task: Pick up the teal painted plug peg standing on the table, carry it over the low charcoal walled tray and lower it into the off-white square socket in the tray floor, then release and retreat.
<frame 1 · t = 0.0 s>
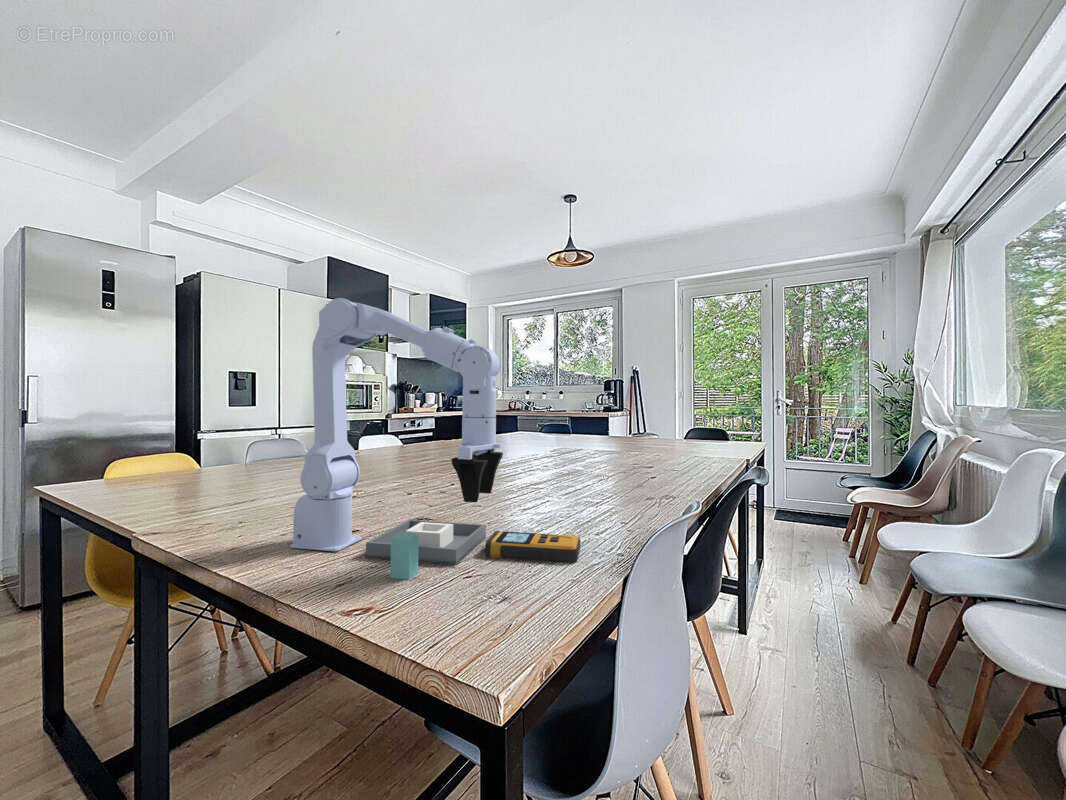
hand: (478, 497, 83), 10 cm above the table, fingers open, 7 cm apart
plug peg: (404, 575, 74), on the table
electronic device: (534, 556, 85), on the table
socket box: (429, 546, 88), on the table
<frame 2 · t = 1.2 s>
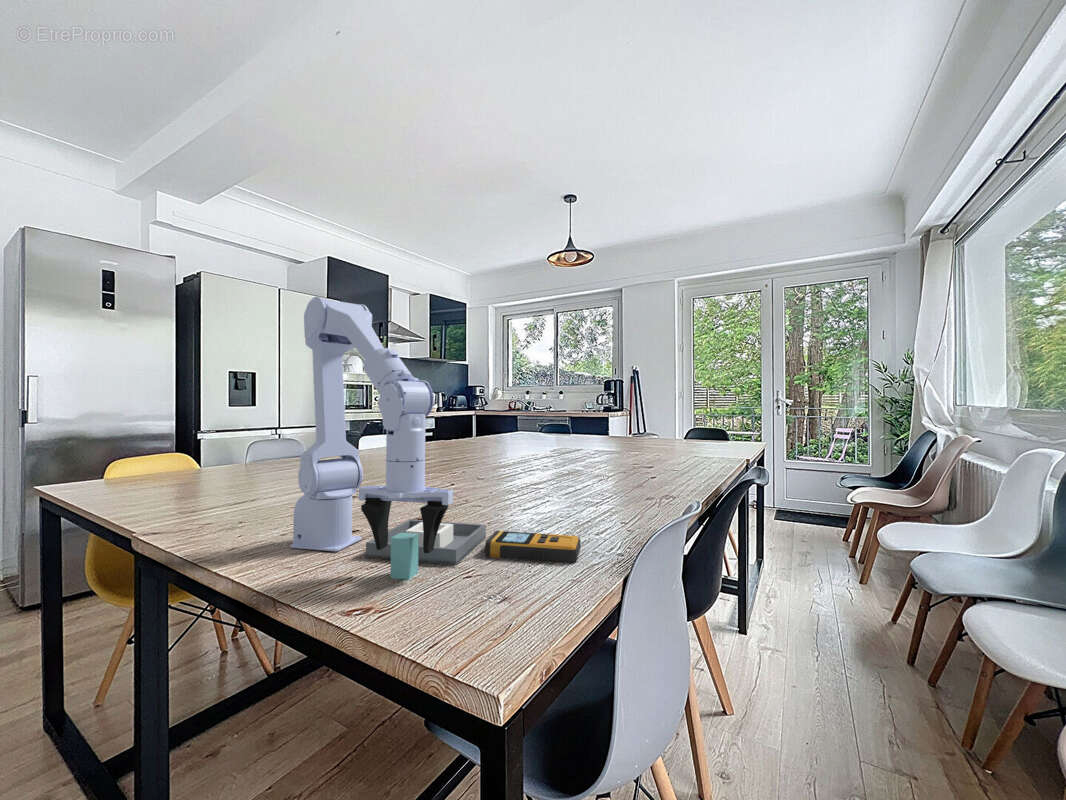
hand: (405, 549, 74), 4 cm above the table, fingers open, 7 cm apart
nothing on the table moved.
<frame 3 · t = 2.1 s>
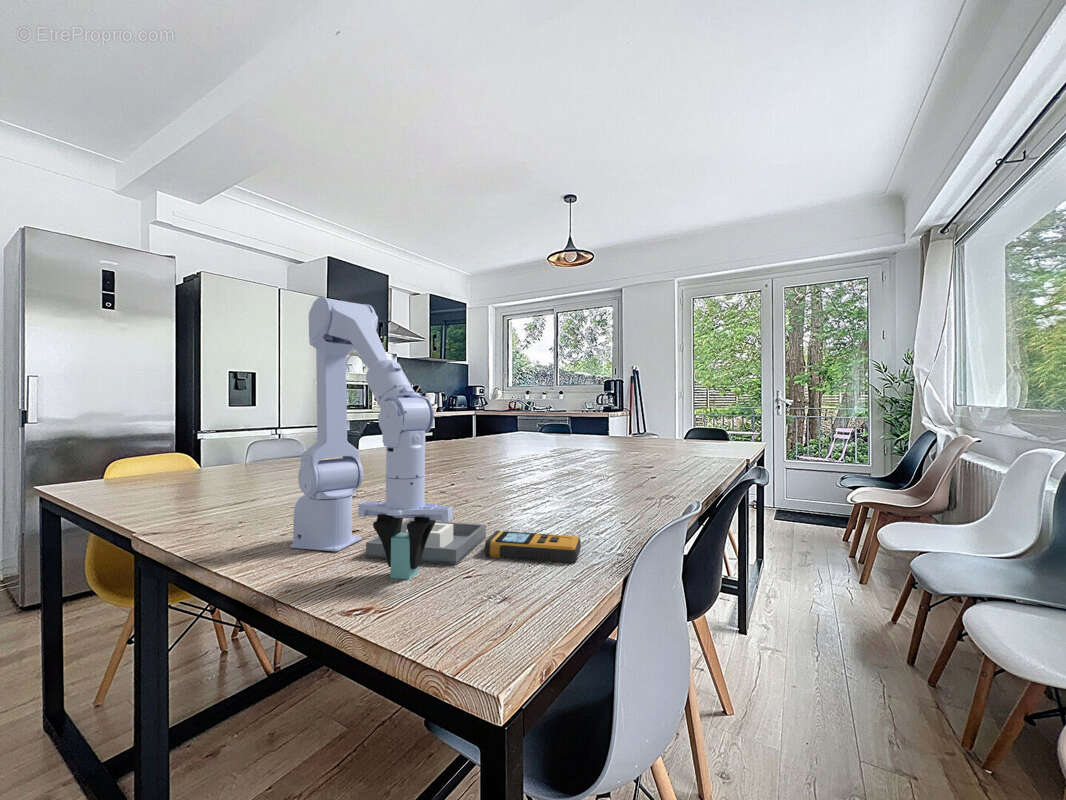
hand: (404, 565, 74), 1 cm above the table, fingers closed on plug peg, 3 cm apart
plug peg: (404, 575, 74), on the table, touching gripper
everything else where it was.
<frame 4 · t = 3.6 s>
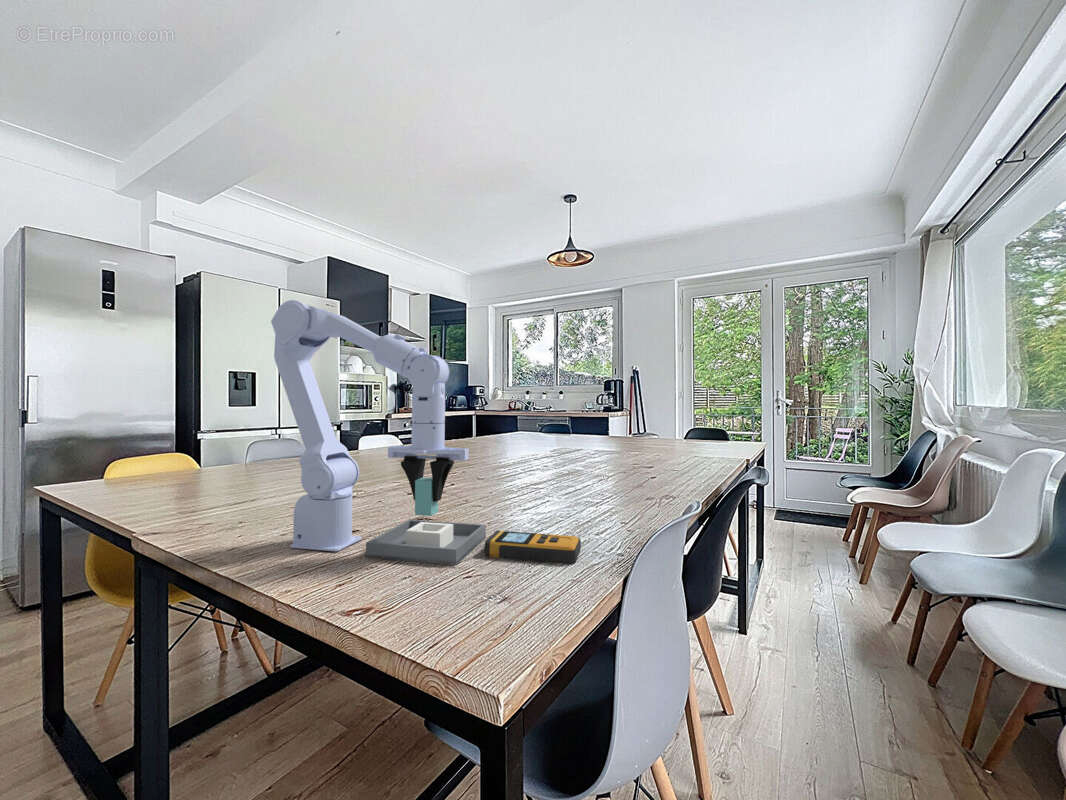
hand: (427, 499, 86), 9 cm above the table, fingers closed on plug peg, 3 cm apart
plug peg: (426, 513, 86), point 7 cm above the table, touching gripper
everything else where it was.
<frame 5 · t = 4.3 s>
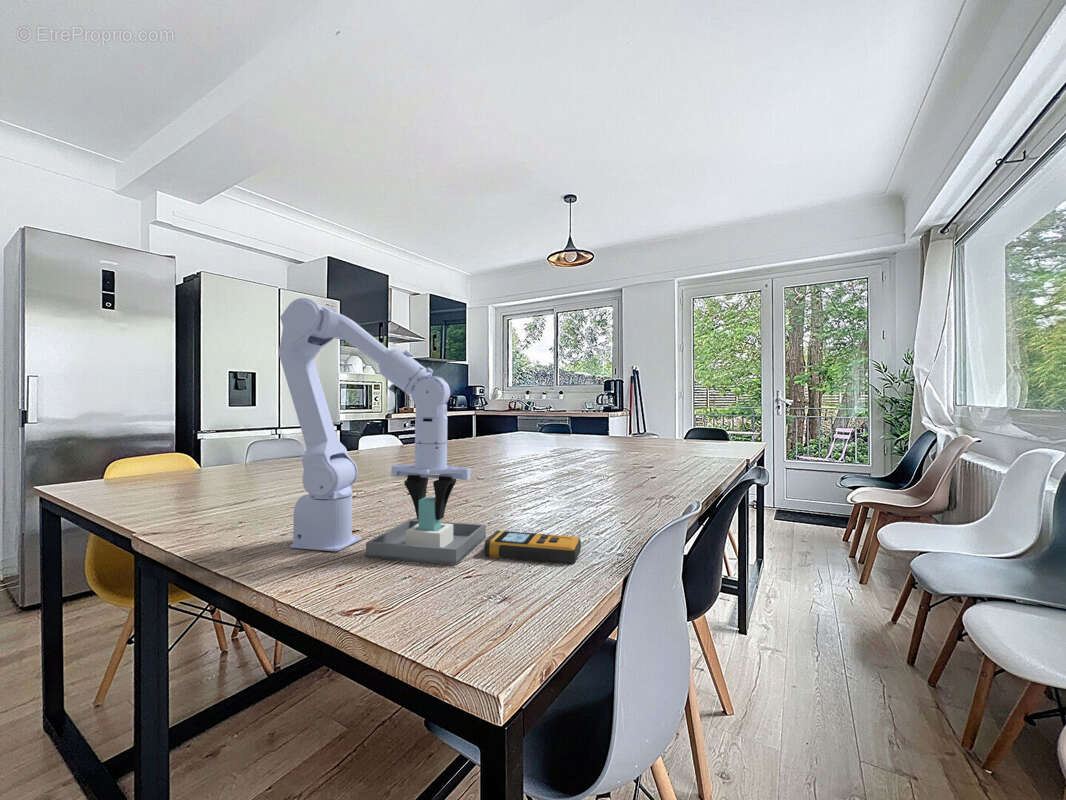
hand: (430, 518, 88), 5 cm above the table, fingers closed on plug peg, 3 cm apart
plug peg: (429, 532, 88), point 3 cm above the table, touching gripper
everything else where it was.
when the fingers open (4 cm above the table, at t = 4.8 s): plug peg stays where it is, resting on socket box.
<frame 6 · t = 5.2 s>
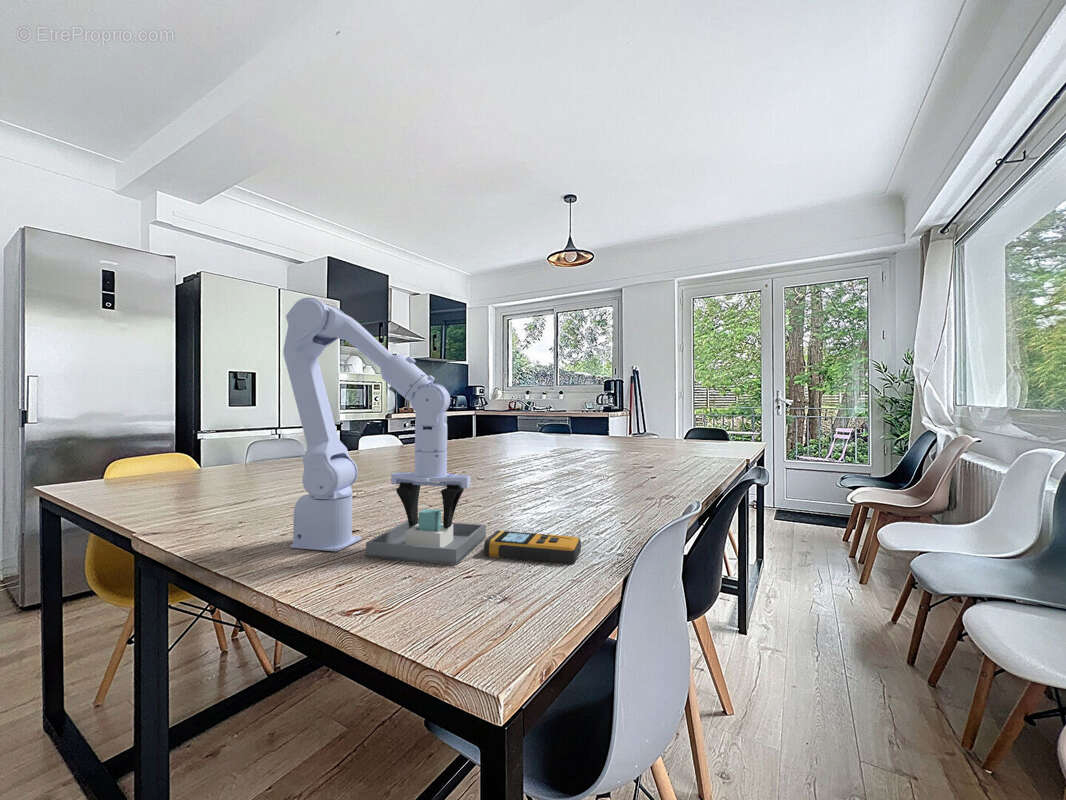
hand: (430, 525, 88), 4 cm above the table, fingers open, 6 cm apart
plug peg: (429, 544, 88), resting on socket box
everything else where it was.
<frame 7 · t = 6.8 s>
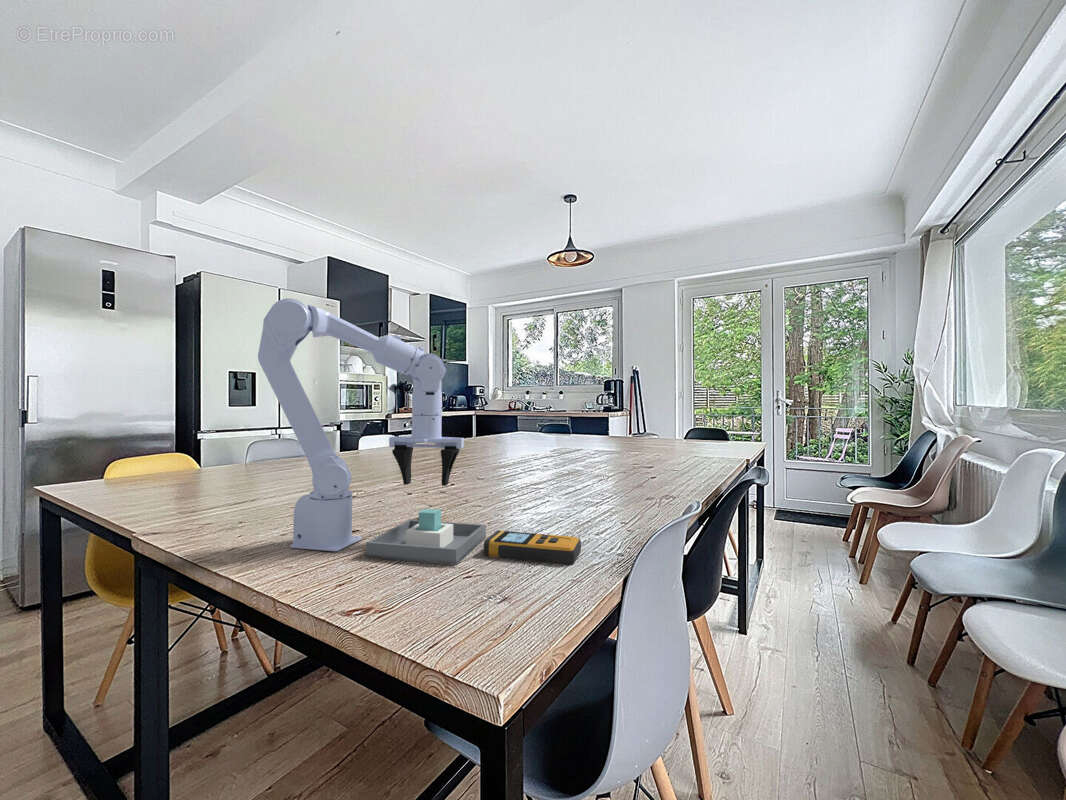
hand: (426, 484, 95), 10 cm above the table, fingers open, 7 cm apart
nothing on the table moved.
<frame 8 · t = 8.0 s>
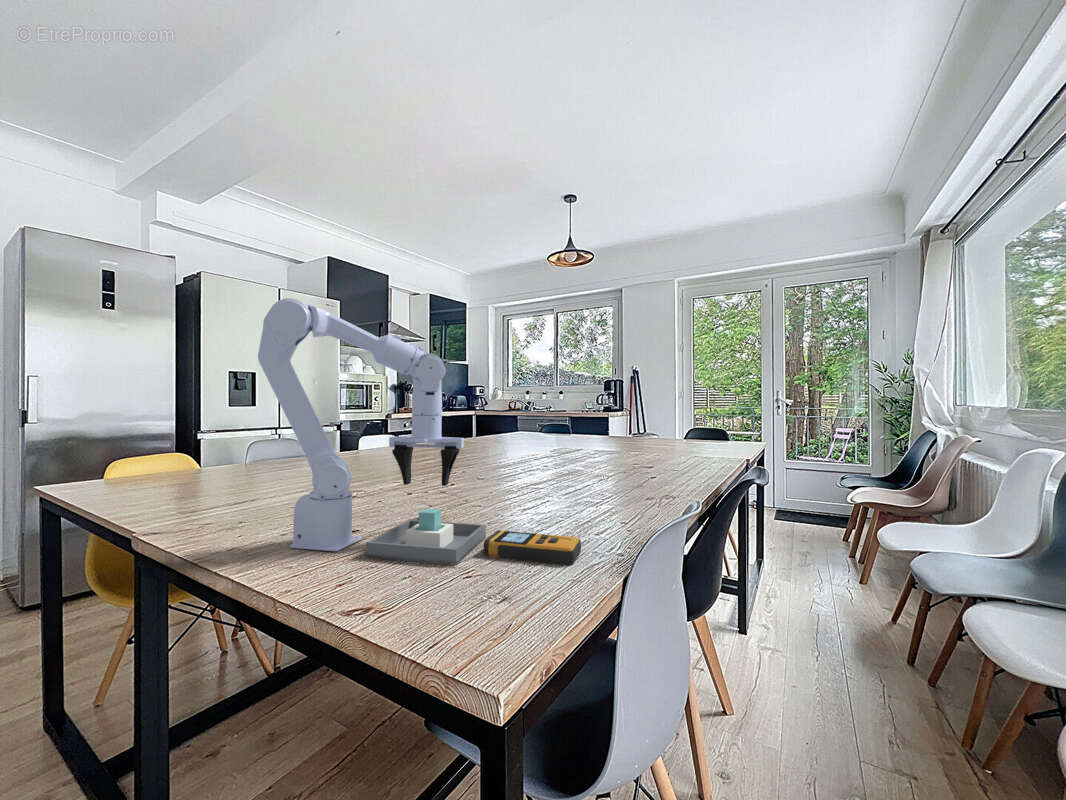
hand: (426, 484, 95), 10 cm above the table, fingers open, 7 cm apart
nothing on the table moved.
at the end: plug peg 0.1 cm off-centre on the socket box, point 0.5 cm above the socket box's base; plug peg tilted 0°; the gripper is holding nothing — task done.
